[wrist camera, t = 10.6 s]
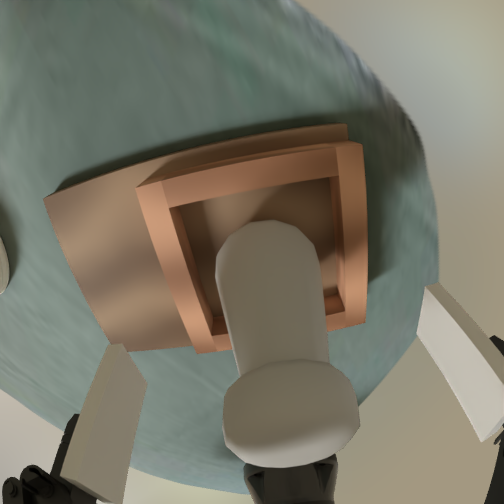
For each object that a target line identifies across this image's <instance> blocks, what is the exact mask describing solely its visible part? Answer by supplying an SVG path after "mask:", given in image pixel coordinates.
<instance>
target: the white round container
mask: <svg viewBox="0 0 504 504" xmlns="http://www.w3.org/2000/svg"><path fill="white" fill-rule="evenodd" d="M8 281H9V262H8V257H7V253H6V250H5V247H4V244H3V241H2V239H1V237H0V294H2V293H3V292H4V290H5V289H6V287H7V284H8Z"/></svg>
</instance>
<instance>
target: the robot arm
mask: <svg viewBox="0 0 504 504" xmlns="http://www.w3.org/2000/svg"><path fill="white" fill-rule="evenodd" d="M416 334H417V335H418V337H419V338H420V340H421V341H422V343H423V344H424V346H425V347H426V349H427V350H428V352H429V353H430V355H431V356H432V358H433V359H434V361H435V363H436V364H437V366H438V367H439V369H440V370H441V372H442V374H443V375H444V377H445V379H446V380H447V382H448V384H449V385H450V387H451V388H452V390H453V392H454V394H455V395H456V397H457V399H458V401H459V402H460V404H461V406H462V408H463V409H464V411H465V413H466V415H467V417H468V418H469V420H470V422H471V424H472V426H473V428H474V430H475V432H476V433H477V435H478V437H479V439H480V441H481V442H482V441H484V440H486V439H487V438H489V437H490V436H491V435H493V434H495V433H496V432H497V431H498V430H499V428H500V427H501V426H503V427H504V341H503V340H501V339H499V338H498V337H496V336H495V335H494V336H492V337H490V338H488V337H487V335H486V334H485V333H484V332H483V331H482V329H481V328H480V327H479V326H478V325H477V324H476V322H475V321H474V320H473V319H472V318H471V317H470V316H469V314H468V313H467V312H466V311H465V310H464V309H463V308H462V307H461V306H460V305H459V303H458V302H457V301H456V300H455V299H454V298H453V297H452V296H451V295H450V294H449V293H448V292H447V291H446V290H445V289H444V287H443V286H442V285H441V284H440V283H439V282H438V283H435V284H432V285H429V286H425V291H424V297H423V303H422V308H421V314H420V319H419V324H418V328H417V333H416ZM146 388H147V382H146V381H145V379H144V378H143V376H142V375H141V373H140V371H139V370H138V368H137V367H136V365H135V364H134V362H133V360H132V359H131V357H130V355H129V354H128V352H127V350H126V349H125V347H124V345H123V344H111V345H108V347H107V349H106V351H105V354H104V356H103V358H102V360H101V363H100V365H99V368H98V370H97V372H96V375H95V377H94V380H93V382H92V384H91V387H90V389H89V392H88V394H87V397H86V400H85V402H84V405H83V408H82V410H81V413H80V414H74V415H73V417H72V418H71V419H70V420H69V422H68V423H67V426H66V429H65V431H64V435H63V437H62V440H61V444H60V445H59V449H58V451H57V454H56V457H55V461H54V464H53V467H52V470H51V472H50V475H49V474H48V473H46V472H45V471H44V470H42V469H41V468H40V467H38V466H36V465H29V466H27V467H26V468H24V469H23V471H22V473H21V475H20V480H18V479H17V478H15V477H10V478H8V479H7V480H6V481H5V482H4V484H3V489H2V496H3V504H96V500H97V499H98V500H100V501H102V502H104V503H106V504H122V502H123V496H124V490H125V485H126V479H127V474H128V468H129V463H130V458H131V453H132V448H133V444H134V439H135V434H136V430H137V425H138V421H139V416H140V412H141V408H142V404H143V400H144V396H145V392H146ZM500 439H501V442H500V443H499V445H500V447H499V452H498V457H497V461H496V466H495V470H494V473H493V477H492V480H491V484H490V487H489V491H488V494H487V497H486V500H485V503H484V504H504V430H503V431H502V433H501V434H500V435H499V436H498V437H497V438H496V440H495V442H494V444H497V443H498V442H499V440H500ZM337 472H338V463H337V458H336V454H335V453H334V454H333V455H331V456H329V457H328V458H325V459H322V460H319V461H316V462H313V463H309V464H306V465H300V466H293V467H286V468H274V467H261V466H257V465H253V464H249V463H247V464H246V465H245V466H244V480H245V483H246V485H247V488H248V490H249V492H250V494H251V496H252V499H253V501H254V503H255V504H334V490H335V484H336V478H337Z"/></svg>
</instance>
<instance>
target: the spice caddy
mask: <svg viewBox="0 0 504 504" xmlns="http://www.w3.org/2000/svg"><path fill="white" fill-rule="evenodd" d="M43 201H44V204H45V207H46V209H47V212H48V215H49V218H50V220H51V223H52V226H53V228H54V231H55V233H56V236H57V238H58V241H59V243H60V246H61V248H62V250H63V253H64V255H65V257H66V260H67V262H68V264H69V266H70V268H71V271H72V273H73V275H74V277H75V279H76V281H77V283H78V285H79V287H80V289H81V291H82V293H83V295H84V297H85V299H86V301H87V303H88V305H89V307H90V308H91V310H92V312H93V314H94V316H95V318H96V319H97V321H98V323H99V325H100V326H101V328H102V330H103V332H104V333H105V335H106V337H107V338H108V340H109V342H110V343H111V344H123V345H124V347H125V349H126V350H127V352H132V351H144V350H156V349H166V348H176V347H185V346H194V348H195V351H196V353H197V354H200V353H208V352H216V351H224V350H231V349H232V345H231V341H230V337H229V333H228V329H227V325H226V321H225V317H224V313H223V309H222V305H221V300H220V296H219V292H218V288H217V283H216V279H215V271H216V256H217V254H218V252H219V251H220V249H221V247H222V246H223V244H224V243H225V241H226V240H227V238H228V236H229V235H230V234H231V233H233V232H235V231H236V230H238V229H239V228H241V227H243V226H244V225H246V224H248V223H249V222H256V221H264V220H273V219H274V220H277V221H280V222H283V223H287V224H290V225H293V226H296V227H297V228H298V229H299V230H300V231H301V232H302V233H303V234H304V235H305V236H306V237H307V238H308V239H309V240H310V241H311V242H312V243H313V244H314V247H315V250H316V253H317V257H318V260H319V264H320V270H321V278H322V287H323V296H324V305H325V315H326V326H327V332H329V331H333V330H337V329H342V328H346V327H350V326H354V325H358V324H362V323H365V319H366V302H367V275H368V226H367V199H366V181H365V168H364V156H363V146H362V144H359V143H356V142H353V141H349V137H348V129H347V124H345V123H330V124H321V125H312V126H304V127H297V128H290V129H283V130H277V131H270V132H265V133H259V134H253V135H248V136H243V137H237V138H233V139H228V140H223V141H218V142H214V143H209V144H205V145H201V146H196V147H192V148H188V149H184V150H180V151H177V152H173V153H169V154H165V155H162V156H158V157H155V158H151V159H148V160H144V161H141V162H138V163H134V164H131V165H128V166H125V167H122V168H119V169H116V170H113V171H110V172H107V173H104V174H101V175H98V176H95V177H93V178H90V179H87V180H84V181H82V182H79V183H76V184H74V185H71V186H69V187H66V188H64V189H61V190H59V191H56V192H54V193H52V194H50V195H49V196H47V197H45V198H43Z"/></svg>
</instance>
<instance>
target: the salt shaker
mask: <svg viewBox="0 0 504 504" xmlns="http://www.w3.org/2000/svg"><path fill="white" fill-rule="evenodd" d="M215 279H216V283H217V288H218V292H219V296H220V300H221V305H222V309H223V313H224V317H225V321H226V325H227V329H228V333H229V337H230V341H231V345H232V349H233V353H234V357H235V360H236V364H237V368H238V372H239V375H240V378H239V379H238V380H237V381H236V382H235V383H234V384H233V385H232V386H231V387H229V388H228V390H227V392H226V394H225V396H224V407H223V424H222V429H223V434H224V440H225V444H226V446H227V447H228V448H229V449H230V450H231V451H232V452H233V453H235V454H236V455H237V456H238V457H239V458H240V459H242V460H243V461H244V462H246V463H249V464H253V465H257V466H261V467H274V468H286V467H293V466H300V465H306V464H309V463H313V462H316V461H319V460H322V459H325V458H328V457H329V456H331V455H333V454H334V453H336V452H338V451H339V450H341V449H343V448H344V447H345V446H346V444H347V443H348V442H349V441H350V440H351V438H352V437H353V436H354V434H355V433H356V431H357V430H358V428H359V427H360V419H359V410H358V404H357V398H356V394H355V392H354V389H353V387H352V385H351V383H350V380H349V379H348V378H347V377H346V376H345V375H344V374H343V373H342V372H341V371H339V370H338V369H336V368H335V367H334V366H332V365H331V364H330V363H329V349H328V337H327V326H326V315H325V305H324V296H323V287H322V278H321V270H320V264H319V260H318V257H317V253H316V250H315V247H314V244H313V243H312V242H311V241H310V240H309V239H308V238H307V237H306V236H305V235H304V234H303V233H302V232H301V231H300V230H299V229H298V228H297V227H296V226H293V225H290V224H287V223H283V222H280V221H277V220H274V219H273V220H264V221H256V222H249V223H248V224H246V225H244V226H243V227H241V228H239V229H238V230H236V231H235V232H233V233H231V234H230V235H229V236H228V238H227V240H226V241H225V243H224V244H223V246H222V247H221V249H220V251H219V252H218V254H217V256H216V271H215Z"/></svg>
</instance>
